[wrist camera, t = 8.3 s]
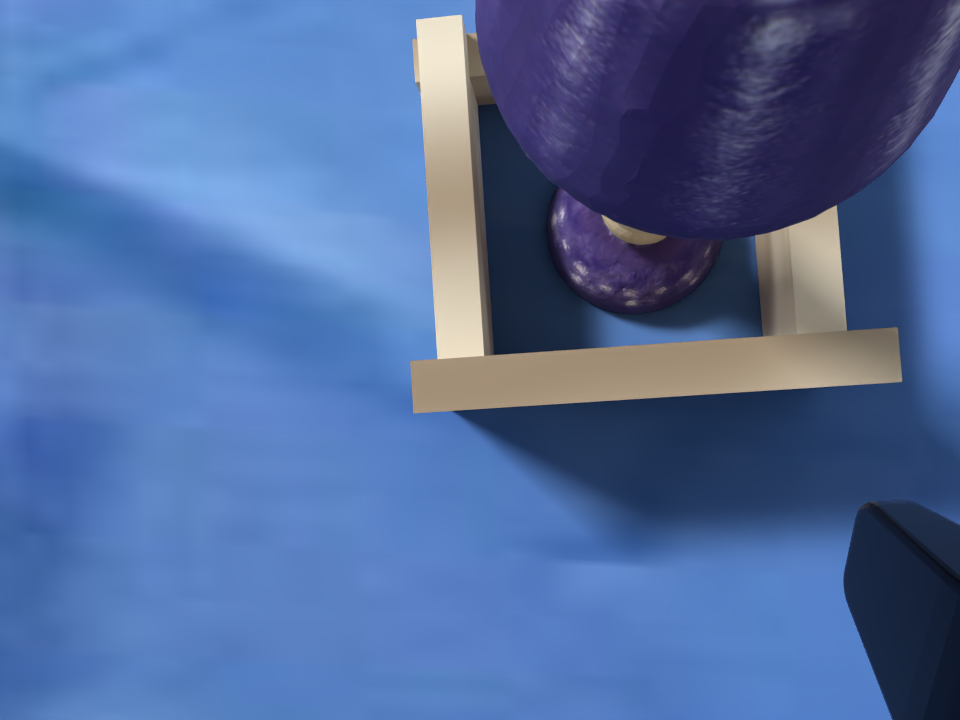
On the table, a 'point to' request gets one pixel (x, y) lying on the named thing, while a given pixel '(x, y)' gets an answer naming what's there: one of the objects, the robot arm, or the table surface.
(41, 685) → the table surface
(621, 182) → the toy lamp
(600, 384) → the birch bracket
